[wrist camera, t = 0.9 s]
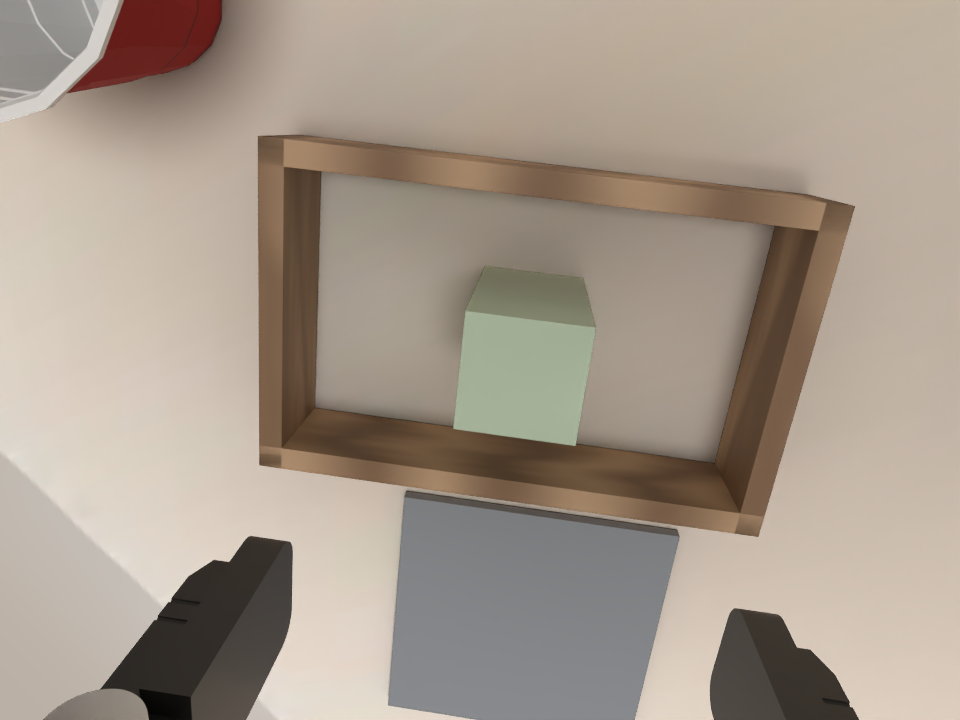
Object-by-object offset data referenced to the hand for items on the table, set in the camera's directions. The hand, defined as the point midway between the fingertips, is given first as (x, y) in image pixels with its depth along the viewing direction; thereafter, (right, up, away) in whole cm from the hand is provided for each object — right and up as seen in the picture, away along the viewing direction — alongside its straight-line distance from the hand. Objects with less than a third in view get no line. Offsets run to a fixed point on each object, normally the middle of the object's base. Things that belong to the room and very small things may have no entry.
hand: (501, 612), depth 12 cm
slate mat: (+2, -10, +25) cm, 26 cm away
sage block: (+2, +6, +19) cm, 20 cm away
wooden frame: (+2, +6, +19) cm, 20 cm away
